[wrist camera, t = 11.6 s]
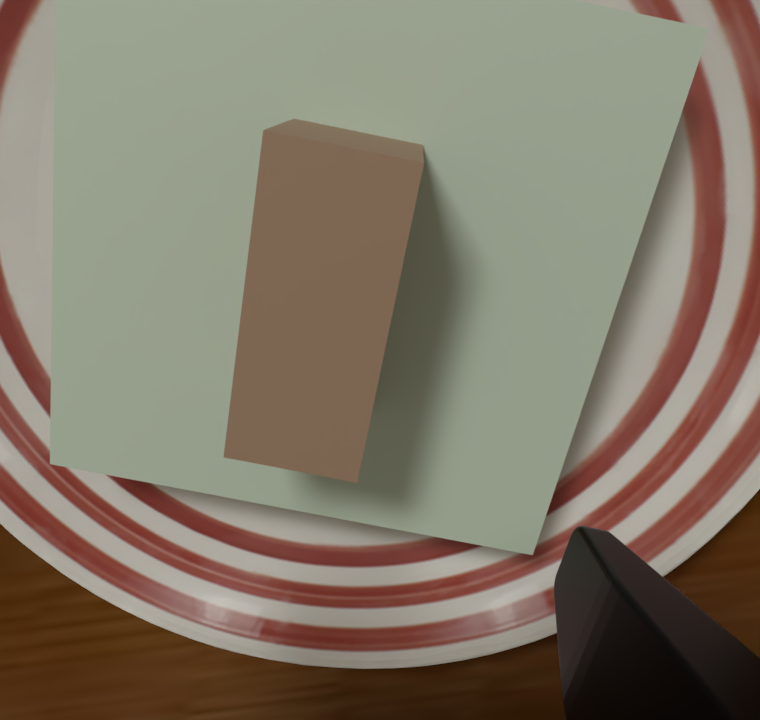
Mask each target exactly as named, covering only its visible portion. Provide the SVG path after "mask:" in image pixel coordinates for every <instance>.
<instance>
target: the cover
mask: <svg viewBox="0 0 760 720" xmlns="http://www.w3.org/2000/svg"><path fill="white" fill-rule="evenodd" d="M709 30H710V28H705V27H700V26H695V25H691V24H686V23H681V22H676V21H672V20H667V19H662V18H658V17H653V16H648V15H643V14H639V13H634V12H629V11H624V10H620V9H615V8H610V7H606V6H601V5H596V4H591V3H587V2H582V1H577V0H56V8H55V88H54V168H53V248H52V328H51V408H50V464H52V465H57V466H63V467H68V468H73V469H79V470H84V471H89V472H94V473H100V474H105V475H110V476H116V477H121V478H126V479H132V480H137V481H142V482H147V483H153V484H158V485H163V486H169V487H174V488H179V489H184V490H190V491H195V492H200V493H206V494H211V495H216V496H222V497H227V498H232V499H237V500H243V501H248V502H253V503H259V504H264V505H269V506H274V507H280V508H285V509H290V510H296V511H301V512H306V513H312V514H317V515H322V516H327V517H333V518H338V519H343V520H349V521H354V522H359V523H365V524H370V525H375V526H380V527H386V528H391V529H396V530H402V531H407V532H412V533H417V534H423V535H428V536H433V537H439V538H444V539H449V540H455V541H460V542H465V543H470V544H476V545H481V546H486V547H492V548H497V549H502V550H508V551H513V552H518V553H523V554H529V555H533V553H534V550H535V547H536V544H537V541H538V538H539V535H540V532H541V529H542V526H543V523H544V520H545V517H546V514H547V511H548V508H549V505H550V502H551V500H552V497H553V494H554V491H555V488H556V485H557V482H558V479H559V476H560V473H561V470H562V467H563V464H564V461H565V458H566V455H567V452H568V449H569V446H570V443H571V440H572V437H573V434H574V431H575V428H576V425H577V422H578V419H579V416H580V413H581V410H582V407H583V404H584V401H585V398H586V396H587V393H588V390H589V387H590V384H591V381H592V378H593V375H594V372H595V369H596V366H597V363H598V360H599V357H600V354H601V351H602V348H603V345H604V342H605V339H606V336H607V333H608V330H609V327H610V324H611V321H612V318H613V315H614V312H615V309H616V306H617V303H618V300H619V297H620V294H621V292H622V289H623V286H624V283H625V280H626V277H627V274H628V271H629V268H630V265H631V262H632V259H633V256H634V253H635V250H636V247H637V244H638V241H639V238H640V235H641V232H642V229H643V226H644V223H645V220H646V217H647V214H648V211H649V208H650V205H651V202H652V199H653V196H654V193H655V190H656V188H657V185H658V182H659V179H660V176H661V173H662V170H663V167H664V164H665V161H666V158H667V155H668V152H669V149H670V146H671V143H672V140H673V137H674V134H675V131H676V128H677V125H678V122H679V119H680V116H681V113H682V110H683V107H684V104H685V101H686V98H687V95H688V92H689V89H690V86H691V84H692V81H693V78H694V75H695V72H696V69H697V66H698V63H699V60H700V57H701V54H702V51H703V48H704V45H705V42H706V39H707V36H708V33H709Z"/></svg>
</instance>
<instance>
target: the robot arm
mask: <svg viewBox="0 0 760 720" xmlns="http://www.w3.org/2000/svg"><path fill="white" fill-rule="evenodd" d="M554 602H555V615H556V627H557V639H558V651H559V663H560V675H561V686H562V695H563V703H564V709H565V715H566V720H760V658H759V657H758V656H756V655H755V654H754V653H753V652H752V651H751V650H749V649H748V648H747V647H746V646H745V645H743V644H742V643H741V642H740V641H739V640H737V639H736V638H735V637H734V636H733V635H731V634H730V633H729V632H728V631H727V630H726V629H724V628H723V627H722V626H721V625H720V624H718V623H717V622H716V621H715V620H714V619H712V618H711V617H710V616H709V615H708V614H707V613H705V612H704V611H703V610H702V609H701V608H699V607H698V606H697V605H696V604H695V603H693V602H692V601H691V600H690V599H689V598H687V597H686V596H685V595H684V594H683V593H682V592H680V591H679V590H678V589H677V588H676V587H674V586H673V585H672V584H671V583H670V582H668V581H667V580H666V579H665V578H664V577H663V576H661V575H660V574H659V573H658V572H657V571H655V570H654V569H653V568H652V567H651V566H649V565H648V564H647V563H646V562H645V561H644V560H642V559H641V558H640V557H639V556H638V555H636V554H635V553H634V552H633V551H632V550H630V549H629V548H628V547H627V546H626V545H624V544H623V543H622V542H621V541H620V540H619V539H617V538H616V537H615V536H614V535H613V534H611V533H610V532H609V531H606V530H602V529H597V528H592V527H587V526H578V527H577V528H575V529H574V531H573V532H572V534H571V536H570V539H569V541H568V544H567V547H566V550H565V552H564V555H563V558H562V560H561V563H560V566H559V568H558V571H557V574H556V577H555V582H554Z"/></svg>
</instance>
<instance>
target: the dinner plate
mask: <svg viewBox="0 0 760 720" xmlns="http://www.w3.org/2000/svg"><path fill="white" fill-rule="evenodd" d="M577 1H582V2H587V3H591V4H596V5H601V6H606V7H610V8H615V9H620V10H624V11H629V12H634V13H639V14H643V15H648V16H653V17H658V18H662V19H667V20H672V21H676V22H681V23H686V24H691V25H695V26H700V27H705V28H710V30H709V33H708V36H707V39H706V42H705V45H704V48H703V51H702V54H701V57H700V60H699V63H698V66H697V69H696V72H695V75H694V78H693V81H692V84H691V86H690V89H689V92H688V95H687V98H686V101H685V104H684V107H683V110H682V113H681V116H680V119H679V122H678V125H677V128H676V131H675V134H674V137H673V140H672V143H671V146H670V149H669V152H668V155H667V158H666V161H665V164H664V167H663V170H662V173H661V176H660V179H659V182H658V185H657V188H656V190H655V193H654V196H653V199H652V202H651V205H650V208H649V211H648V214H647V217H646V220H645V223H644V226H643V229H642V232H641V235H640V238H639V241H638V244H637V247H636V250H635V253H634V256H633V259H632V262H631V265H630V268H629V271H628V274H627V277H626V280H625V283H624V286H623V289H622V292H621V294H620V297H619V300H618V303H617V306H616V309H615V312H614V315H613V318H612V321H611V324H610V327H609V330H608V333H607V336H606V339H605V342H604V345H603V348H602V351H601V354H600V357H599V360H598V363H597V366H596V369H595V372H594V375H593V378H592V381H591V384H590V387H589V390H588V393H587V396H586V398H585V401H584V404H583V407H582V410H581V413H580V416H579V419H578V422H577V425H576V428H575V431H574V434H573V437H572V440H571V443H570V446H569V449H568V452H567V455H566V458H565V461H564V464H563V467H562V470H561V473H560V476H559V479H558V482H557V485H556V488H555V491H554V494H553V497H552V500H551V502H550V505H549V508H548V511H547V514H546V517H545V520H544V523H543V526H542V529H541V532H540V535H539V538H538V541H537V544H536V547H535V550H534V553H533V555H529V554H523V553H518V552H513V551H508V550H502V549H497V548H492V547H486V546H481V545H476V544H470V543H465V542H460V541H455V540H449V539H444V538H439V537H433V536H428V535H423V534H417V533H412V532H407V531H402V530H396V529H391V528H386V527H380V526H375V525H370V524H365V523H359V522H354V521H349V520H343V519H338V518H333V517H327V516H322V515H317V514H312V513H306V512H301V511H296V510H290V509H285V508H280V507H274V506H269V505H264V504H259V503H253V502H248V501H243V500H237V499H232V498H227V497H222V496H216V495H211V494H206V493H200V492H195V491H190V490H184V489H179V488H174V487H169V486H163V485H158V484H153V483H147V482H142V481H137V480H132V479H126V478H121V477H116V476H110V475H105V474H100V473H94V472H89V471H84V470H79V469H73V468H68V467H63V466H57V465H52V464H50V408H51V328H52V248H53V168H54V88H55V8H56V0H0V524H1V525H2V526H3V527H5V528H6V529H7V530H8V531H9V532H10V533H11V534H12V535H13V536H15V537H16V538H17V539H18V540H19V541H20V542H21V543H23V544H24V545H25V546H27V547H28V548H29V549H30V550H32V551H33V552H34V553H36V554H37V555H38V556H40V557H41V558H42V559H44V560H45V561H46V562H48V563H49V564H50V565H52V566H53V567H54V568H56V569H57V570H58V571H60V572H61V573H62V574H64V575H66V576H67V577H69V578H70V579H72V580H73V581H75V582H77V583H78V584H80V585H81V586H83V587H84V588H86V589H88V590H89V591H91V592H92V593H94V594H95V595H97V596H99V597H101V598H103V599H104V600H106V601H108V602H110V603H112V604H114V605H116V606H117V607H119V608H121V609H123V610H125V611H127V612H129V613H131V614H133V615H135V616H137V617H139V618H142V619H144V620H146V621H148V622H150V623H152V624H155V625H157V626H159V627H162V628H164V629H167V630H169V631H172V632H174V633H177V634H180V635H182V636H185V637H188V638H191V639H193V640H196V641H199V642H202V643H205V644H208V645H211V646H215V647H218V648H222V649H225V650H229V651H232V652H237V653H241V654H246V655H250V656H255V657H260V658H265V659H269V660H276V661H282V662H288V663H295V664H301V665H309V666H323V667H337V668H355V669H381V668H406V667H419V666H429V665H435V664H442V663H449V662H455V661H462V660H467V659H471V658H476V657H481V656H486V655H490V654H494V653H497V652H501V651H504V650H508V649H512V648H515V647H518V646H521V645H525V644H528V643H531V642H534V641H537V640H540V639H543V638H545V637H548V636H551V635H553V634H556V633H557V627H556V615H555V602H554V582H555V577H556V574H557V571H558V568H559V566H560V563H561V560H562V558H563V555H564V552H565V550H566V547H567V544H568V541H569V539H570V536H571V534H572V532H573V531H574V529H575V528H577V527H578V526H587V527H592V528H597V529H602V530H606V531H609V532H610V533H611V534H613V535H614V536H615V537H616V538H617V539H619V540H620V541H621V542H622V543H623V544H624V545H626V546H627V547H628V548H629V549H630V550H632V551H633V552H634V553H635V554H636V555H638V556H639V557H640V558H641V559H642V560H644V561H645V562H646V563H647V564H648V565H649V566H651V567H652V568H653V569H654V570H655V571H657V572H658V573H659V574H660V575H661V576H665V575H666V574H668V573H669V572H671V571H672V570H673V569H675V568H676V567H677V566H679V565H680V564H681V563H683V562H684V561H685V560H687V559H688V558H689V557H690V556H692V555H693V554H694V553H695V552H696V551H698V550H699V549H700V548H701V547H702V546H704V545H705V544H706V543H707V542H708V541H710V540H711V539H712V538H713V537H714V536H715V535H716V534H717V533H718V532H719V531H720V530H721V529H722V528H723V527H724V526H725V525H726V524H727V523H728V522H729V521H731V519H732V518H733V517H734V516H735V515H736V514H737V513H738V512H739V511H740V510H741V509H742V508H743V507H744V506H745V505H746V504H747V503H748V502H749V500H750V499H751V498H752V497H753V496H754V495H755V494H756V493H757V492H758V490H759V489H760V0H577Z"/></svg>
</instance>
